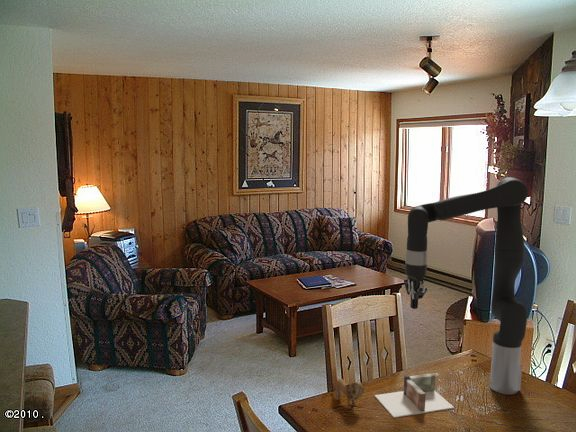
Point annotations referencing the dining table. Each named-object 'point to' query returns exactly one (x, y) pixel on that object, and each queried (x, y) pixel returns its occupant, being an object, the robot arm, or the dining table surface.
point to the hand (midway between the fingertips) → (413, 308)
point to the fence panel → (416, 394)
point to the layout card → (411, 403)
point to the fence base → (421, 382)
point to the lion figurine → (349, 391)
